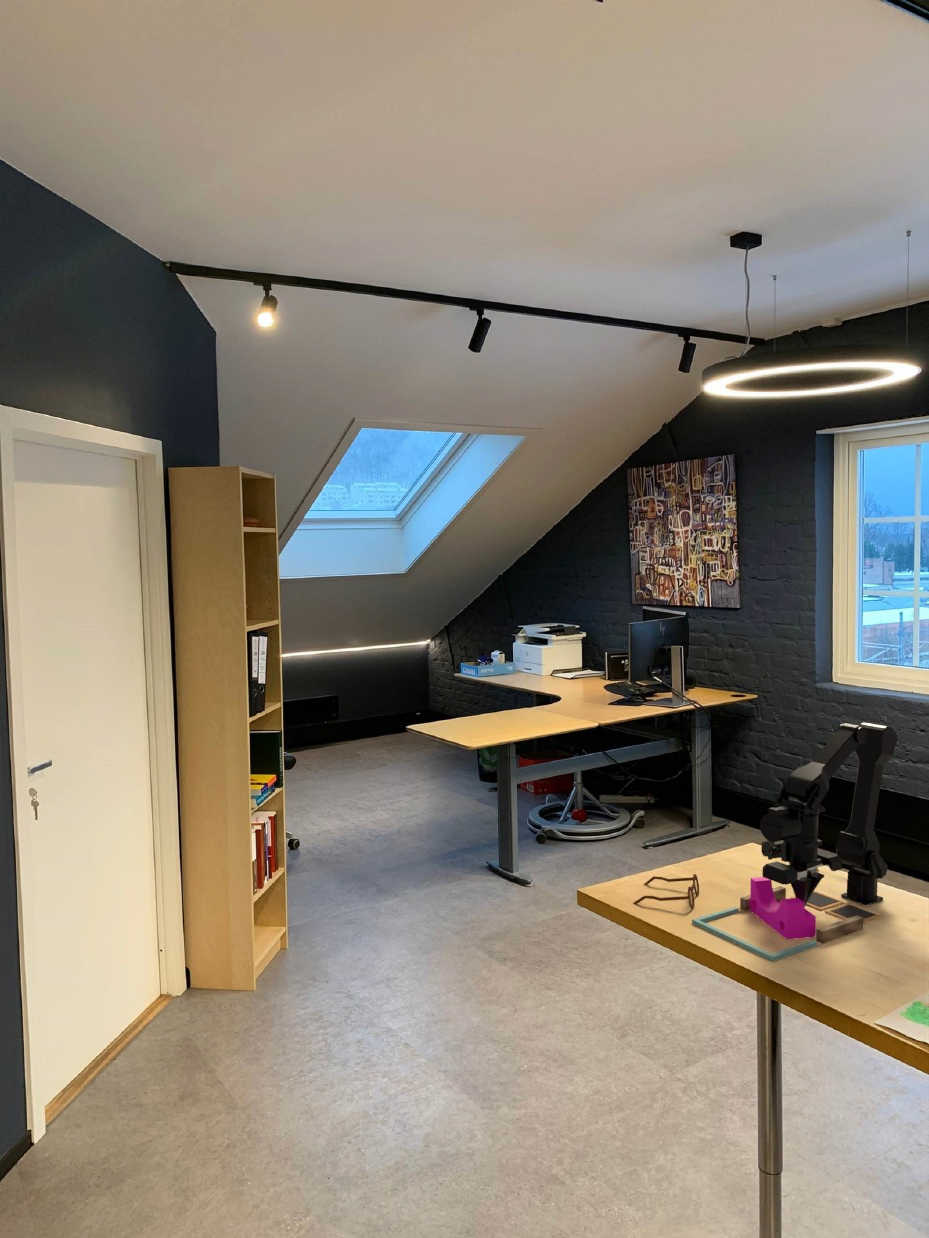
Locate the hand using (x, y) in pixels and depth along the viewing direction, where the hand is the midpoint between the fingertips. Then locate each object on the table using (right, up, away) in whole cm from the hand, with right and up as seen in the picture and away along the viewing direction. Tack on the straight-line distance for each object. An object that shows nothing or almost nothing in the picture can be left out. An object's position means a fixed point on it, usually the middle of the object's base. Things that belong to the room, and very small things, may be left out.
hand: (801, 906), depth 191 cm
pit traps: (+9, -2, +6) cm, 11 cm away
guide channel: (0, -3, 0) cm, 3 cm away
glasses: (-26, -3, +13) cm, 29 cm away
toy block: (-5, -3, -2) cm, 6 cm away
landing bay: (-12, -3, -7) cm, 15 cm away
